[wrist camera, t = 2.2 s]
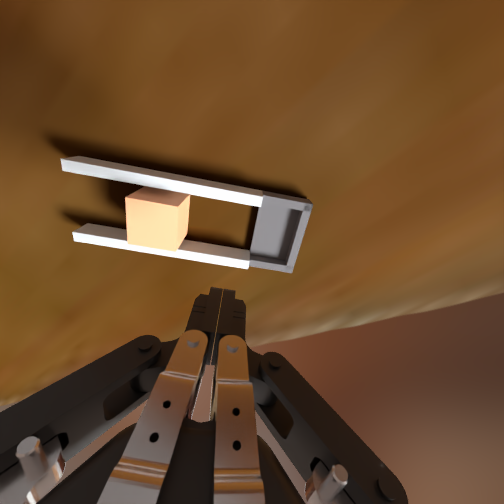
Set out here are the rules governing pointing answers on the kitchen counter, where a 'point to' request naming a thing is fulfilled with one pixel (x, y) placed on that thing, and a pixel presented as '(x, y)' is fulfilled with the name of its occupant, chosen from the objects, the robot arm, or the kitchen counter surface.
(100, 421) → the robot arm
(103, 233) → the channel
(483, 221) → the kitchen counter surface
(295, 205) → the tray
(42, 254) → the kitchen counter surface
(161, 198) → the block
